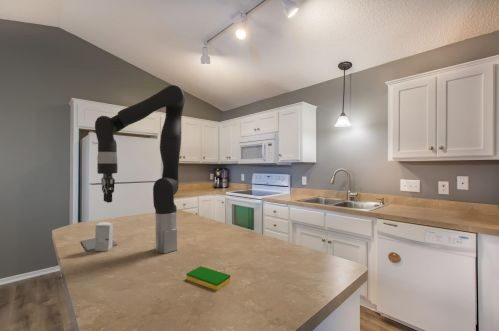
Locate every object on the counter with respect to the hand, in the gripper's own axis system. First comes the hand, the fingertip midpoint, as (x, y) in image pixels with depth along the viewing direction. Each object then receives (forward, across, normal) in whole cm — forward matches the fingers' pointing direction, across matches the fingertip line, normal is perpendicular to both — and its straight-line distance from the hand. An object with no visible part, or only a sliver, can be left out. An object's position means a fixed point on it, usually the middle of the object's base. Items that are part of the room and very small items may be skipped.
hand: (107, 201), depth 102 cm
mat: (+23, +20, 0) cm, 31 cm away
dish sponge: (+24, -50, -19) cm, 59 cm away
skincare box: (+23, +8, 0) cm, 24 cm away
